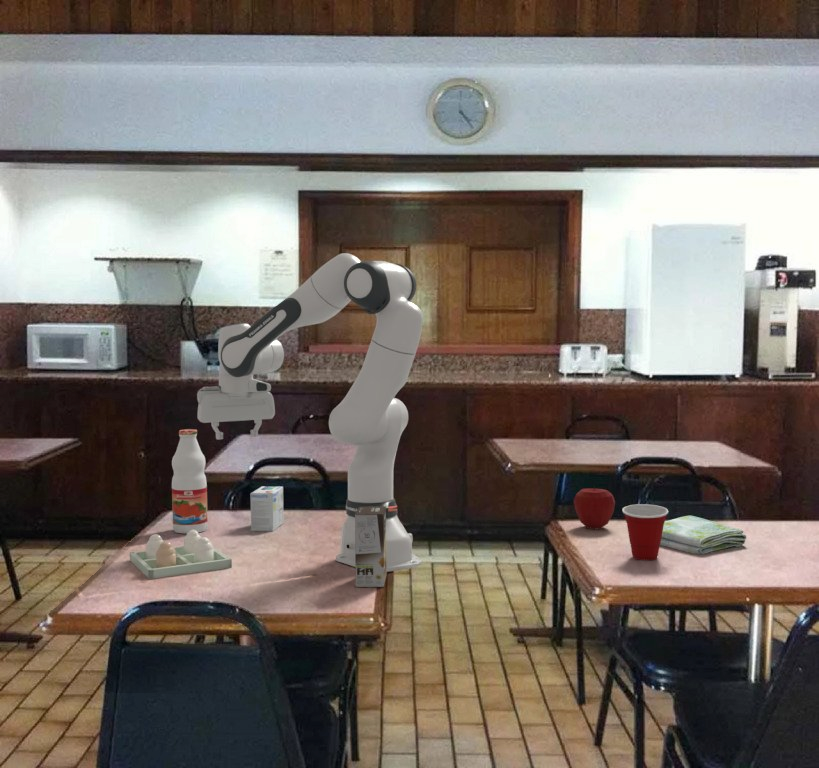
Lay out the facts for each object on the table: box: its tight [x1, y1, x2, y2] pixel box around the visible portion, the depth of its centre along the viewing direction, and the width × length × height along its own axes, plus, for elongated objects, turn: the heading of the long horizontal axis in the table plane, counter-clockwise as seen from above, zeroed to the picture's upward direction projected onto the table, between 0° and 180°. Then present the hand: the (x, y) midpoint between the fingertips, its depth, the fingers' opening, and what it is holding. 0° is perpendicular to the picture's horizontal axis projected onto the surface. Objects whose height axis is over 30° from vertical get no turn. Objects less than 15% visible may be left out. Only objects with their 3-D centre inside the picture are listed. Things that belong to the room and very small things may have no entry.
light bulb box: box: [249, 485, 284, 532], centre depth 264 cm, size 11×7×11 cm, turn 172°
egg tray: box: [129, 545, 233, 580], centre depth 223 cm, size 19×19×2 cm
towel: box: [660, 515, 747, 555], centre depth 242 cm, size 18×21×5 cm
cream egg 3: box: [194, 536, 214, 563], centre depth 221 cm, size 4×4×7 cm
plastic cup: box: [622, 503, 669, 561], centre depth 226 cm, size 11×11×12 cm
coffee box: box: [355, 506, 387, 588], centre depth 207 cm, size 9×6×16 cm
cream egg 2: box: [183, 530, 202, 555], centre depth 228 cm, size 4×4×7 cm
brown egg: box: [156, 541, 176, 568], centre depth 216 cm, size 4×4×7 cm
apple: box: [573, 486, 616, 530], centre depth 260 cm, size 11×11×12 cm
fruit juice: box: [171, 428, 208, 535], centre depth 260 cm, size 9×9×28 cm
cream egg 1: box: [145, 533, 165, 560], centre depth 224 cm, size 4×4×7 cm
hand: (237, 437), depth 248 cm, fingers open, 8 cm apart
